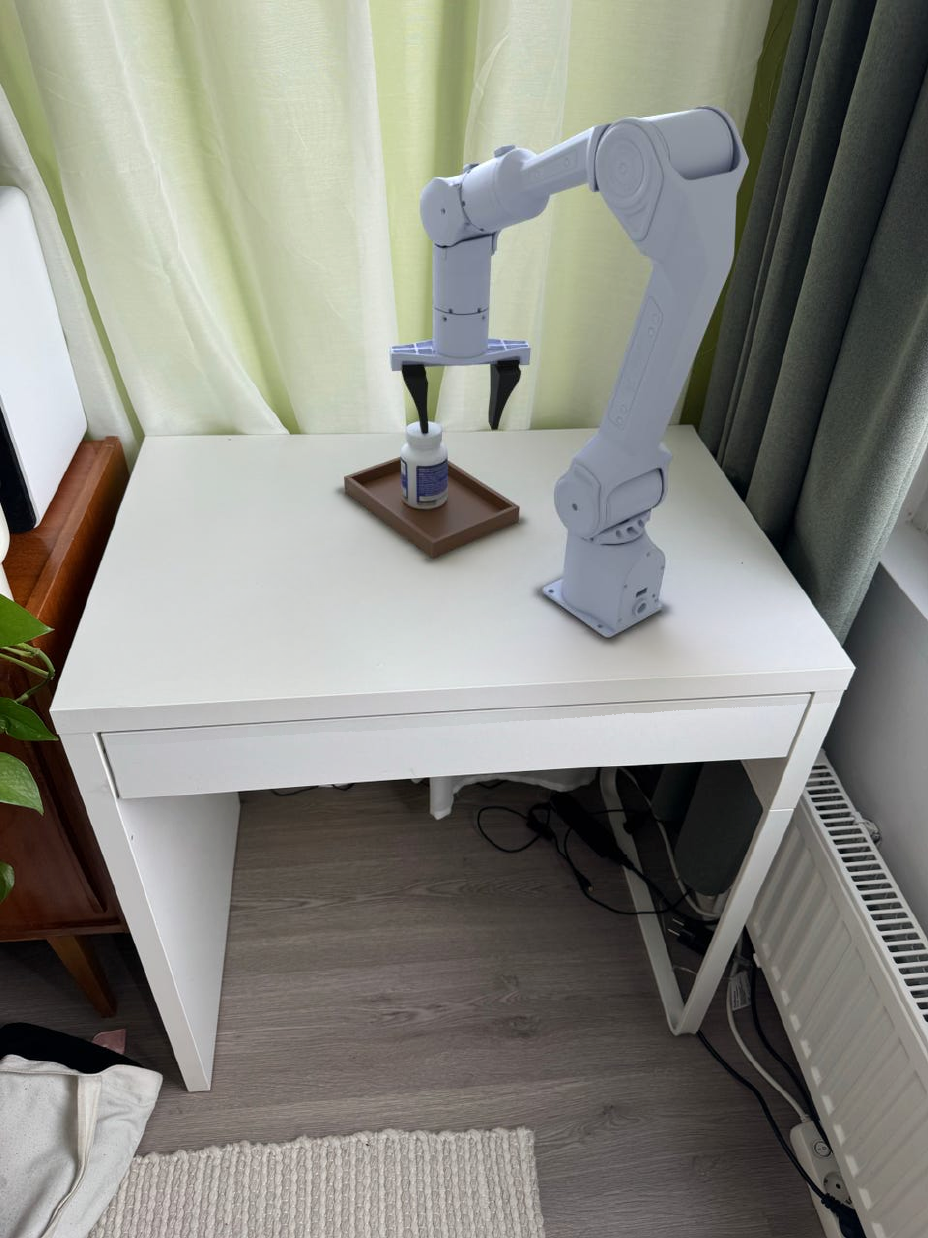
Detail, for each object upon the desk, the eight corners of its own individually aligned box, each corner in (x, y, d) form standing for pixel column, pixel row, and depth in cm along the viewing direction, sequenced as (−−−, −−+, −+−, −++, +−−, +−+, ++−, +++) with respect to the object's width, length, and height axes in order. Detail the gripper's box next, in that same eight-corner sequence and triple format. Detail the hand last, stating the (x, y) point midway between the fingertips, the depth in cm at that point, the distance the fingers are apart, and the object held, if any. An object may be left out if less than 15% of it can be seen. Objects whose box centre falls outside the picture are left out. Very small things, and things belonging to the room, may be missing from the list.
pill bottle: (455, 494, 108) (456, 425, 103) (433, 515, 105) (433, 444, 99) (415, 482, 110) (415, 414, 105) (393, 502, 106) (391, 432, 101)
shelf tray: (518, 521, 105) (519, 506, 104) (432, 558, 99) (433, 543, 98) (427, 461, 115) (427, 446, 114) (344, 491, 109) (343, 476, 108)
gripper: (523, 288, 97) (516, 407, 106) (385, 292, 95) (389, 414, 104) (538, 312, 92) (529, 436, 100) (392, 318, 90) (395, 444, 98)
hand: (458, 427), depth 102 cm, fingers open, 7 cm apart
